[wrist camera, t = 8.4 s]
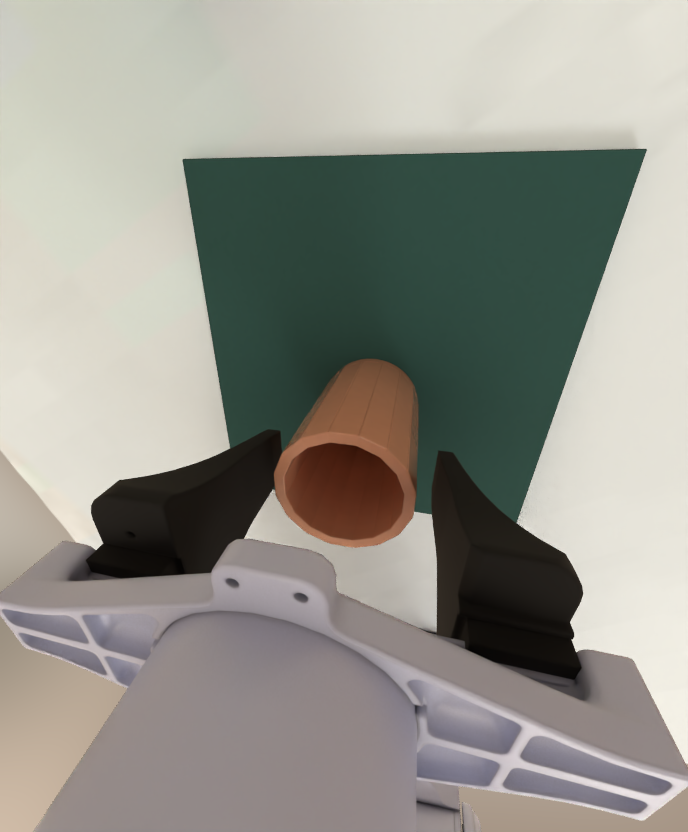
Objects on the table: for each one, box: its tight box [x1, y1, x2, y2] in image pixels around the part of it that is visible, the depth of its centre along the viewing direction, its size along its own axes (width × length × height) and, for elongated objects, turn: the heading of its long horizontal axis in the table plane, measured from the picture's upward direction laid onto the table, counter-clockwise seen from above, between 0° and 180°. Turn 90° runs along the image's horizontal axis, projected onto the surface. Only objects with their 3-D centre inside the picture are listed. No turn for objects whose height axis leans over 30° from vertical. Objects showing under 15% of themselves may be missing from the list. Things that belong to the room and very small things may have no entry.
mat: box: [183, 149, 647, 523], centre depth 20 cm, size 20×20×1 cm
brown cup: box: [274, 359, 419, 548], centre depth 17 cm, size 6×6×8 cm
